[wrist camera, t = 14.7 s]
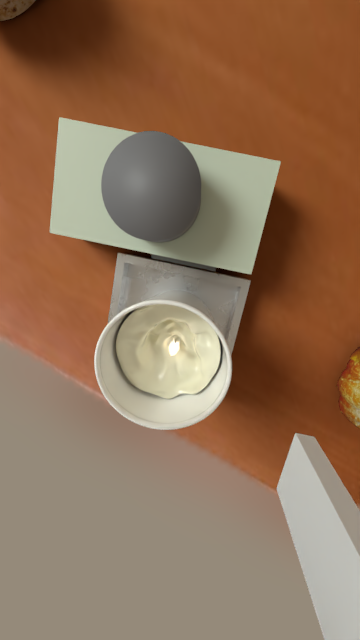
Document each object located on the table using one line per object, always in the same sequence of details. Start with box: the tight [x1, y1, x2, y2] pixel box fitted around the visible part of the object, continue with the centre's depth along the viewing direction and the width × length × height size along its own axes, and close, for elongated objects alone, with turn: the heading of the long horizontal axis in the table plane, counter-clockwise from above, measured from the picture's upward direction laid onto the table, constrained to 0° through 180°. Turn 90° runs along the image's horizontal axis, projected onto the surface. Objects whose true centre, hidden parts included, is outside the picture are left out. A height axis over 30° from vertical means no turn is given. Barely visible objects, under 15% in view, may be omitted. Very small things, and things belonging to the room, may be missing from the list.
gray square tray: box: [108, 253, 251, 355], centre depth 31 cm, size 14×14×2 cm
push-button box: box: [50, 117, 281, 275], centre depth 24 cm, size 18×9×10 cm, turn 79°
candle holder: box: [94, 290, 232, 430], centre depth 25 cm, size 10×10×12 cm
